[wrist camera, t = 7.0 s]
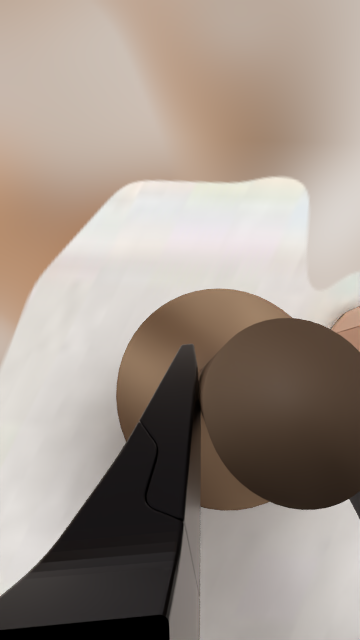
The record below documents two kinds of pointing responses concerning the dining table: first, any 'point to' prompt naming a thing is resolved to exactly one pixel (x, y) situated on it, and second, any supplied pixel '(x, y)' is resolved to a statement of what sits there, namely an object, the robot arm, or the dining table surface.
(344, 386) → the lid
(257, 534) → the dining table surface
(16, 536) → the dining table surface
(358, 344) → the bowl
